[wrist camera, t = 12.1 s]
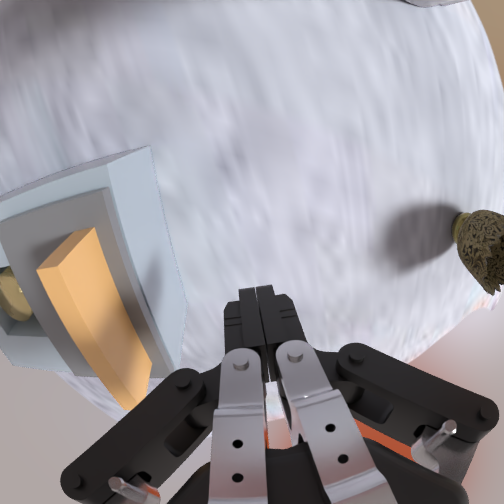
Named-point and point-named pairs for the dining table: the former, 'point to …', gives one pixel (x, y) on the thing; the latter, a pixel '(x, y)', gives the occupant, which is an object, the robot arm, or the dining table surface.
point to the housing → (136, 241)
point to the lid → (87, 292)
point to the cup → (481, 246)
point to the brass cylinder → (13, 297)
